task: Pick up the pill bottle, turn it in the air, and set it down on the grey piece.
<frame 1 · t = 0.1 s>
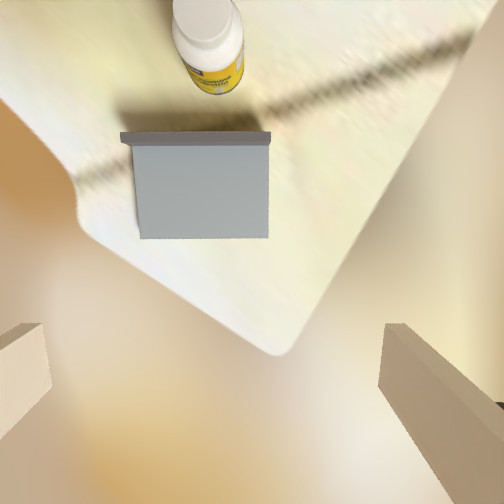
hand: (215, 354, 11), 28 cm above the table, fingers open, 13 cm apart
pill bottle: (217, 67, 34), on the table
grey piece: (204, 189, 37), on the table
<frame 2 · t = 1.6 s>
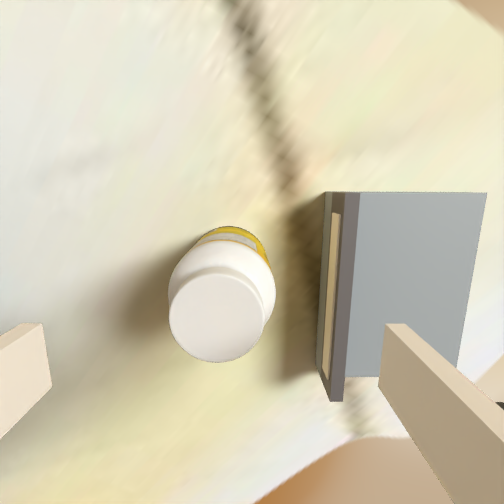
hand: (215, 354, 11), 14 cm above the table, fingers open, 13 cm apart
pill bottle: (229, 260, 26), on the table
grey piece: (386, 283, 26), on the table
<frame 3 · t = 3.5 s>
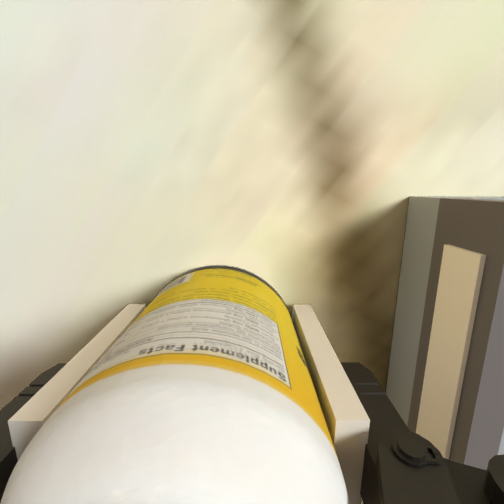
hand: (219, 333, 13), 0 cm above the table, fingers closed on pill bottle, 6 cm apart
pill bottle: (221, 325, 14), on the table, touching gripper
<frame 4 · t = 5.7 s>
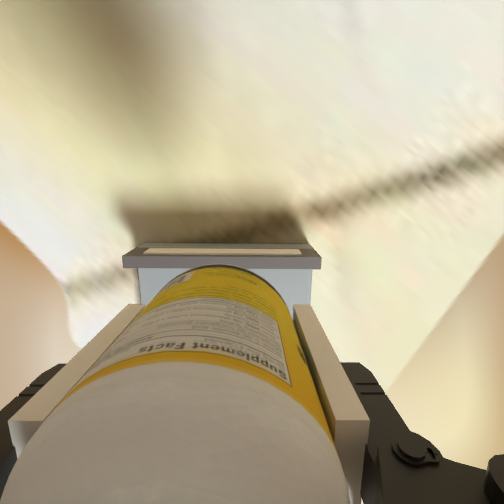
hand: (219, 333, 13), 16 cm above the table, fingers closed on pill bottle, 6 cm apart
pill bottle: (221, 324, 14), point 15 cm above the table, touching gripper
grey piece: (227, 300, 30), on the table
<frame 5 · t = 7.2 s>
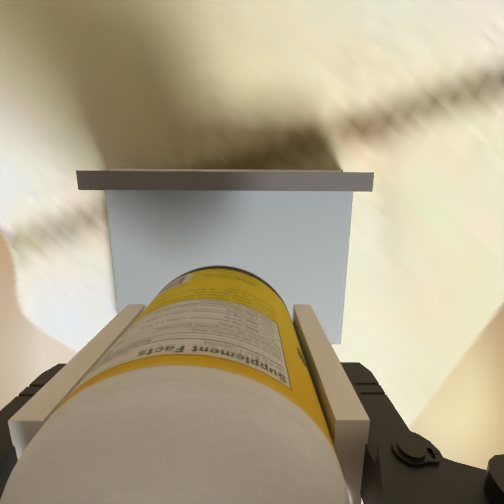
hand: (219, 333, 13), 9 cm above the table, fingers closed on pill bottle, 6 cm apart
pill bottle: (221, 326, 14), point 9 cm above the table, touching gripper
grey piece: (232, 257, 22), on the table
when the fingers open (4 cm above the table, at t = 8.4 s): pill bottle drops 2 cm, resting on grey piece.
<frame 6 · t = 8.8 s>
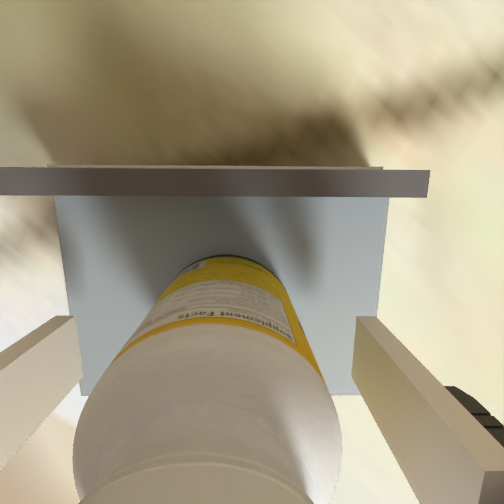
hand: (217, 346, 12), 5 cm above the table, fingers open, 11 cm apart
pill bottle: (227, 308, 15), point 2 cm above the table, touching grey piece
grey piece: (226, 281, 17), on the table
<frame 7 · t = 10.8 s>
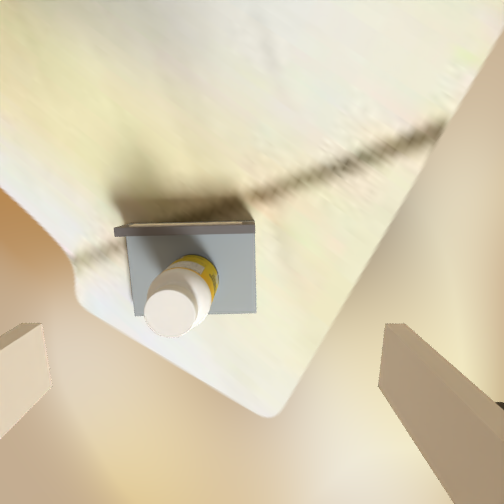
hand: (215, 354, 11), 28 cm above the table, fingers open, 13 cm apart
pill bottle: (194, 276, 38), point 2 cm above the table, touching grey piece
grey piece: (195, 266, 39), on the table
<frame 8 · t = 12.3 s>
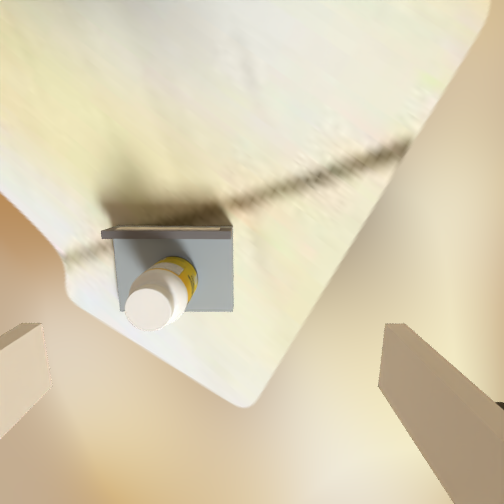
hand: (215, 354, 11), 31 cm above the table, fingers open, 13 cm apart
pill bottle: (176, 276, 41), point 2 cm above the table, touching grey piece
grey piece: (177, 267, 42), on the table
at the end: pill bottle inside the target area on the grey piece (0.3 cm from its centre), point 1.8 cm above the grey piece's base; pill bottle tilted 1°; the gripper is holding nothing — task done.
